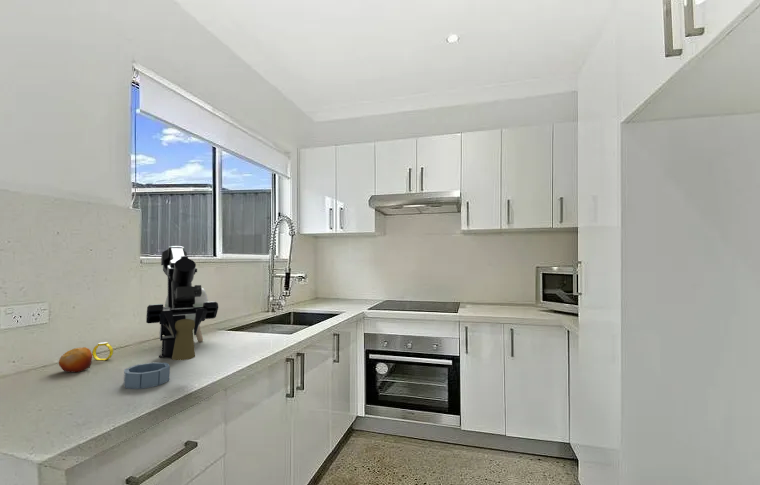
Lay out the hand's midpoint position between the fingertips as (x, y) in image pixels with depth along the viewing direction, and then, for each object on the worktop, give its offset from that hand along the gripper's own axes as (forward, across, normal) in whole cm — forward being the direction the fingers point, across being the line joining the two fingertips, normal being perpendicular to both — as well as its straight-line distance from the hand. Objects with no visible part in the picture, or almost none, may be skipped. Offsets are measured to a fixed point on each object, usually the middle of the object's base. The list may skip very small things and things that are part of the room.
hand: (185, 335), depth 104 cm
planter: (-28, +6, +48) cm, 56 cm away
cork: (+4, 0, +6) cm, 7 cm away
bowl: (+6, -9, +13) cm, 17 cm away
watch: (-18, -20, +38) cm, 47 cm away
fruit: (-11, -27, +30) cm, 42 cm away
